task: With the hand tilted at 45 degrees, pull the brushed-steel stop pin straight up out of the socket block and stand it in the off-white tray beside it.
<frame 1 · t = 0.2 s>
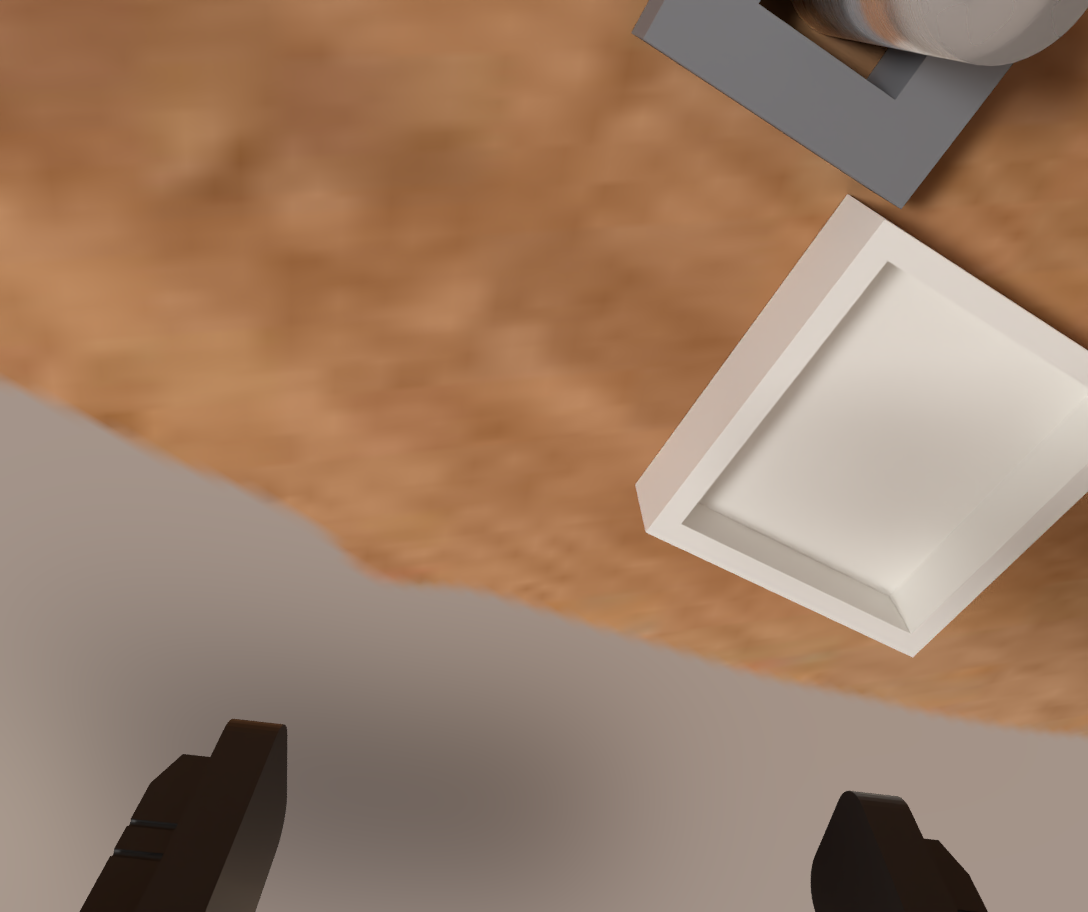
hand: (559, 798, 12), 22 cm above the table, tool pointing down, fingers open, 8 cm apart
tray: (867, 428, 34), on the table
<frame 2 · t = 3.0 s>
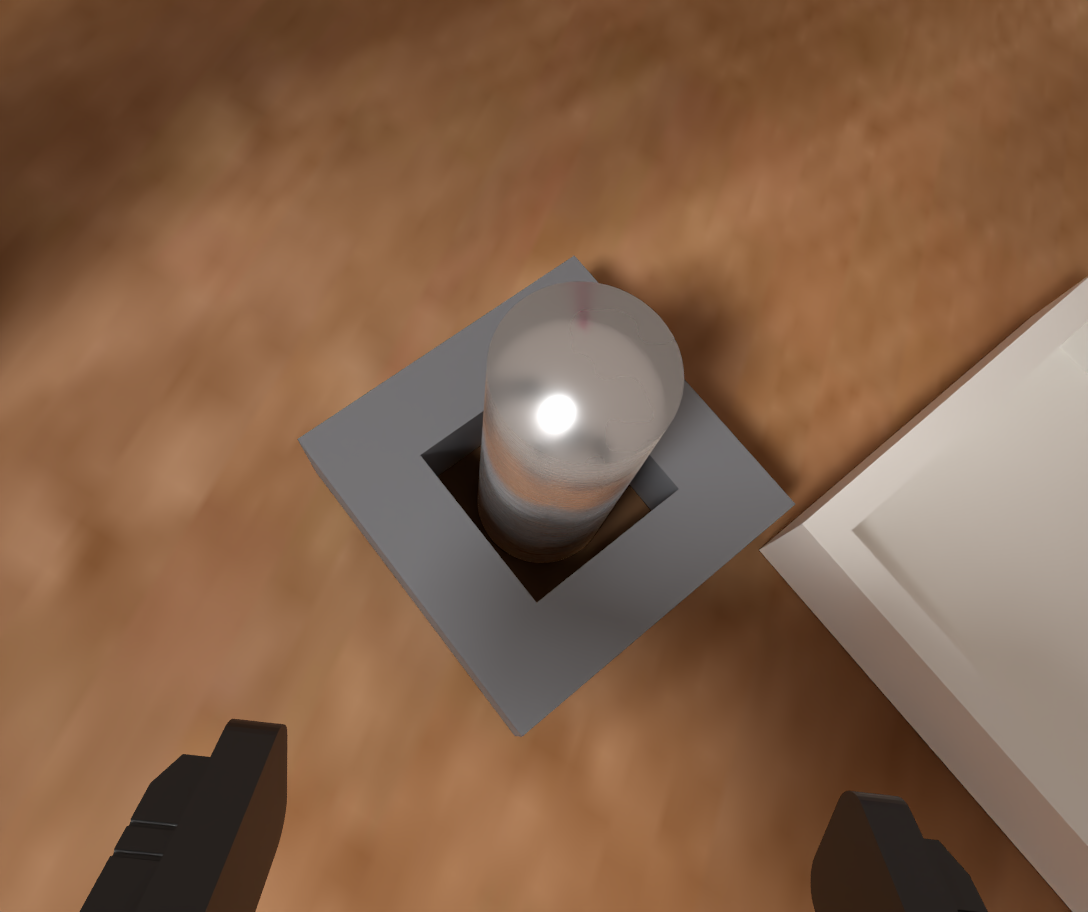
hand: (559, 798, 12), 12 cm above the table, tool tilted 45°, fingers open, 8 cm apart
socket block: (540, 500, 26), on the table
tray: (1056, 587, 27), on the table
stop pin: (558, 449, 21), in the socket block
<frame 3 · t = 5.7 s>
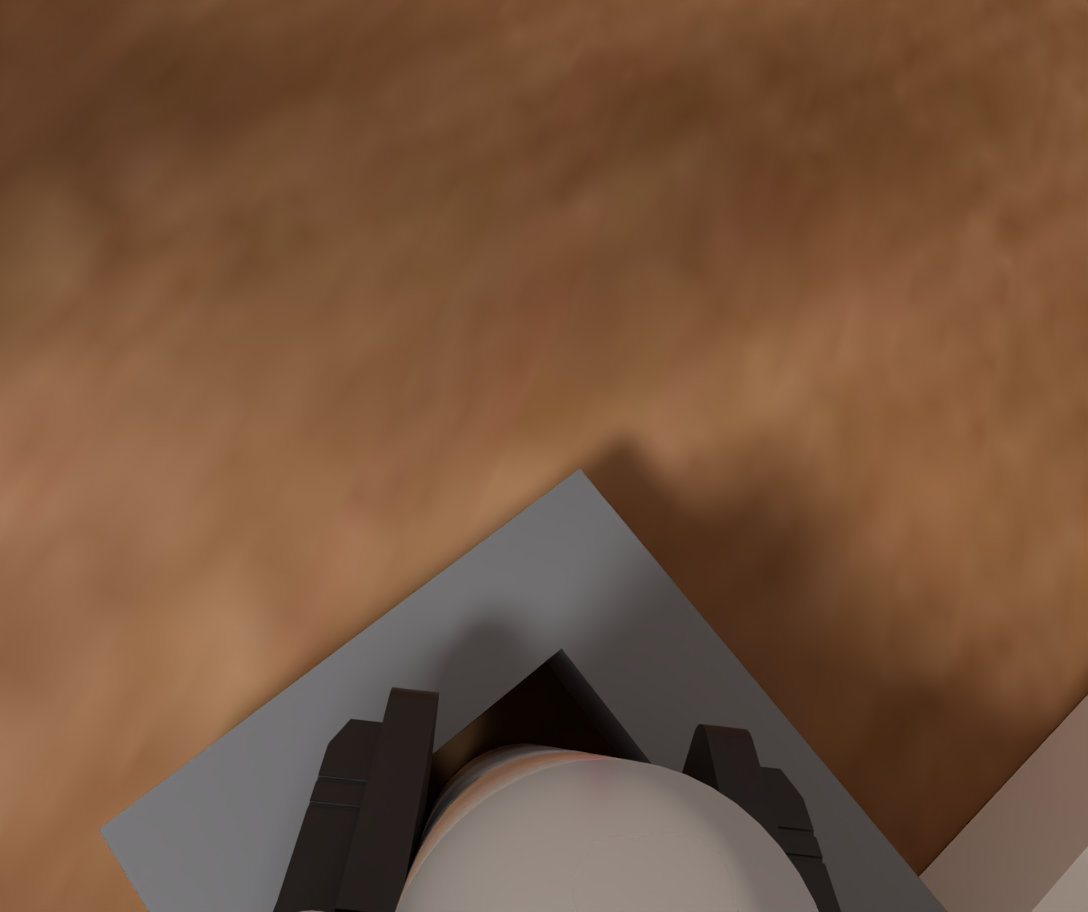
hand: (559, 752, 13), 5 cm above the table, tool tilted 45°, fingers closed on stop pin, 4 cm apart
socket block: (525, 851, 16), on the table
stop pin: (550, 898, 12), in the socket block, touching gripper
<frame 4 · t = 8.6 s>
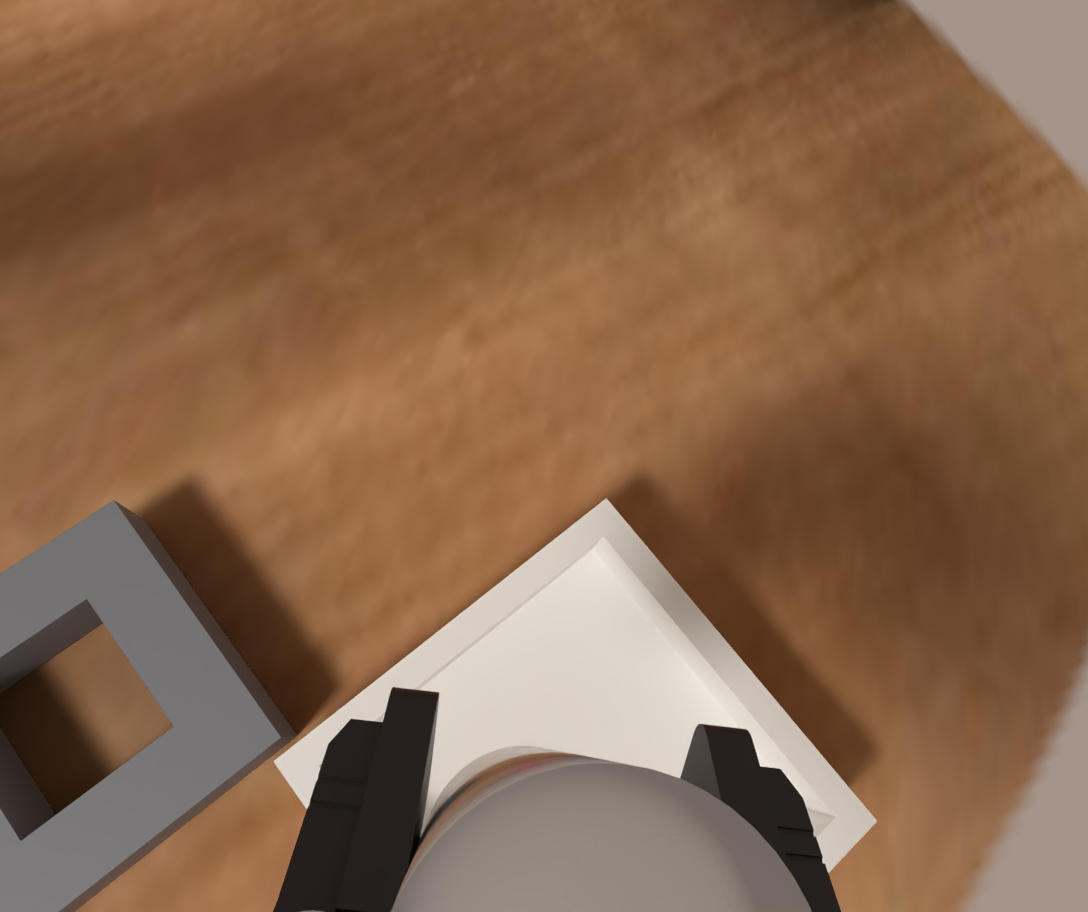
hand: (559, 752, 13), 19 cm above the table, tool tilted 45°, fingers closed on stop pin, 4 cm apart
socket block: (94, 715, 29), on the table
tray: (568, 783, 30), on the table
stop pin: (547, 901, 12), point 19 cm above the table, touching gripper
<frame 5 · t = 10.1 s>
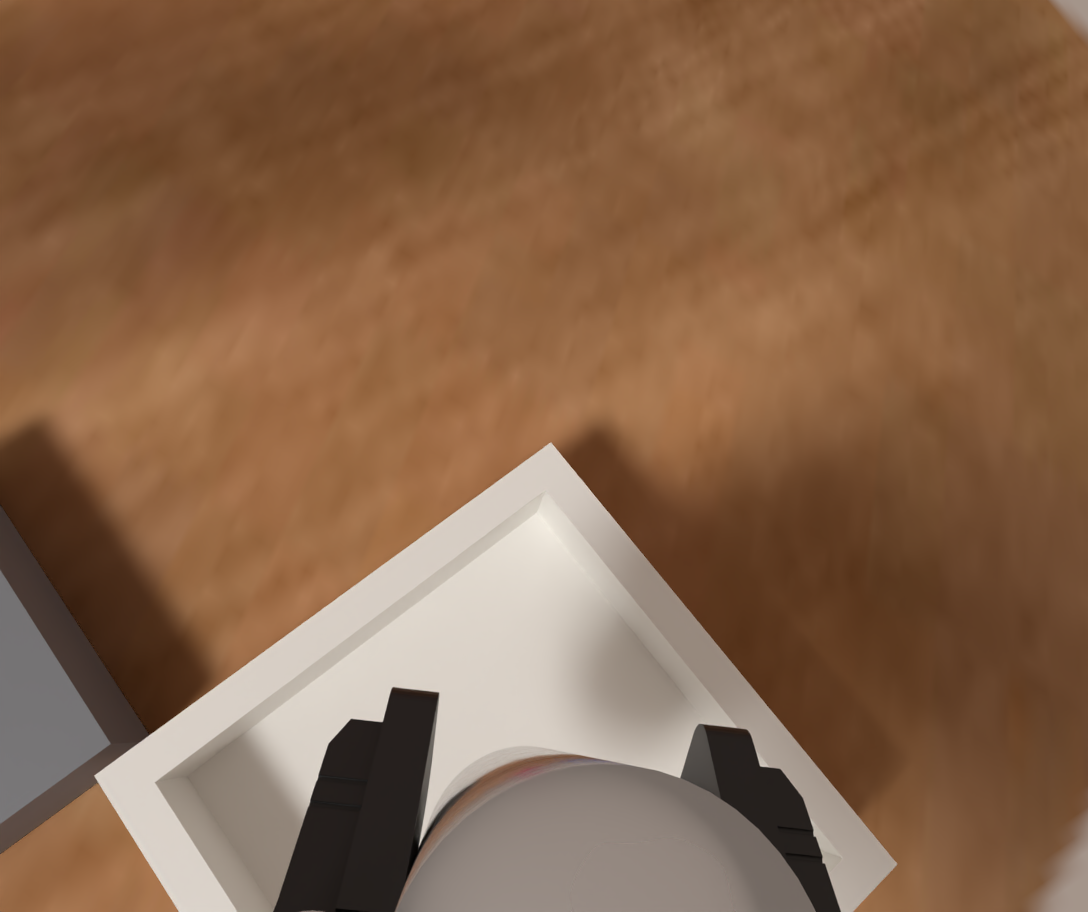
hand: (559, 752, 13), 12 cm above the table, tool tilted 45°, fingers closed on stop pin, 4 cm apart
tray: (500, 807, 23), on the table
stop pin: (550, 902, 12), point 12 cm above the table, touching gripper
when the fingers open (7 cm above the table, at t = 11.4 s): stop pin drops 1 cm, resting on tray.
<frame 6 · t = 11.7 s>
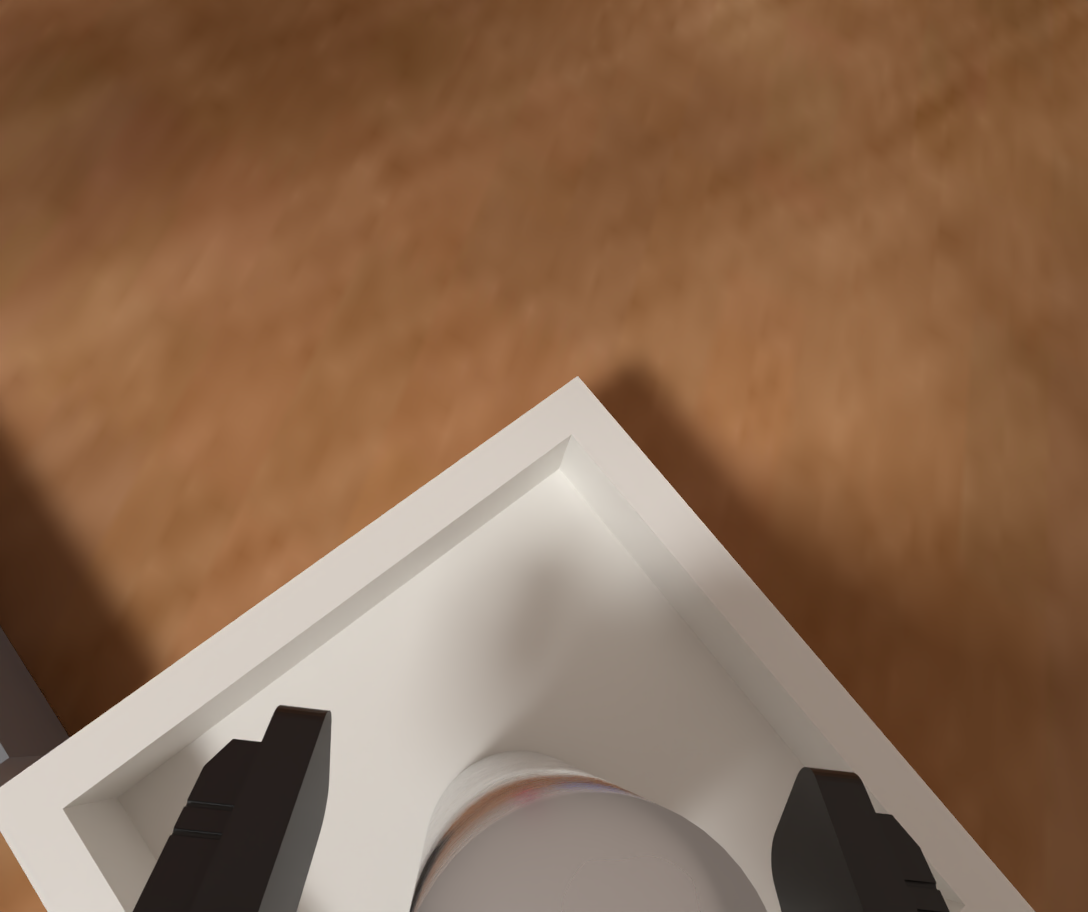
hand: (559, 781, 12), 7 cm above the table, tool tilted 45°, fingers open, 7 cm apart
tray: (515, 835, 19), on the table
stop pin: (542, 900, 13), in the tray, point 6 cm above the table
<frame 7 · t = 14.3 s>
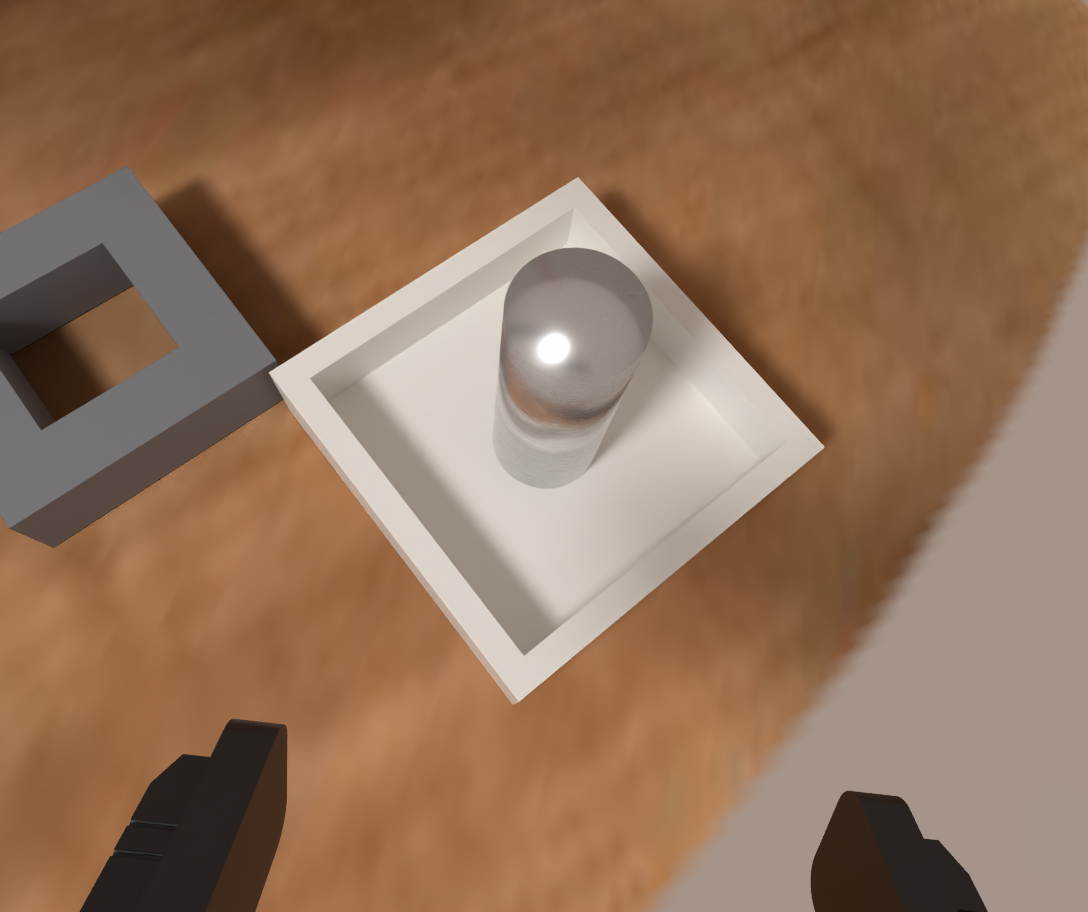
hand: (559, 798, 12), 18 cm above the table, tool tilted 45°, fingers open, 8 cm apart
socket block: (108, 368, 32), on the table
tray: (542, 443, 32), on the table
stop pin: (558, 386, 27), in the tray, point 6 cm above the table
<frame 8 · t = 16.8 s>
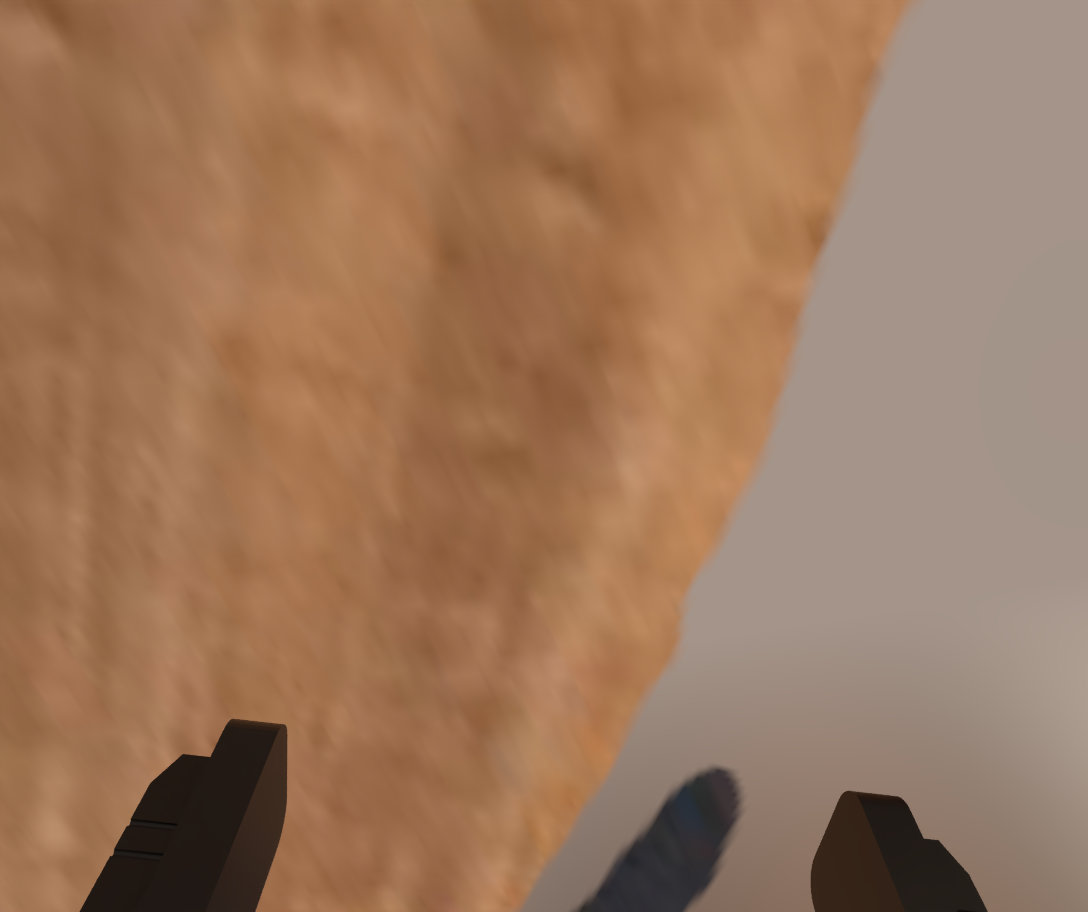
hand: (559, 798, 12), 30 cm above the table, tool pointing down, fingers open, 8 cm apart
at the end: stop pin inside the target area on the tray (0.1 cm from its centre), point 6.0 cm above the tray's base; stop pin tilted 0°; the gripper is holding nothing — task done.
